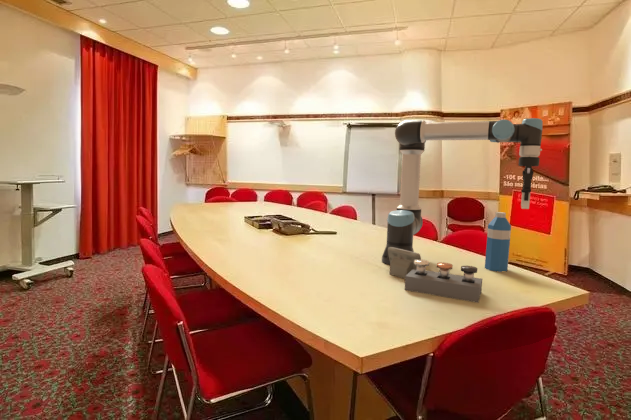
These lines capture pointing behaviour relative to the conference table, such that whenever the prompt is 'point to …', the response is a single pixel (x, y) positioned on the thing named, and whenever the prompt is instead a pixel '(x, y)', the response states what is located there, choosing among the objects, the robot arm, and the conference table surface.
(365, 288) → the conference table surface
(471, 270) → the plunger black
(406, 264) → the digital clock
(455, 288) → the panel
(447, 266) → the plunger terracotta
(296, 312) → the conference table surface
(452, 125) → the robot arm
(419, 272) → the plunger ivory
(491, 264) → the water bottle
